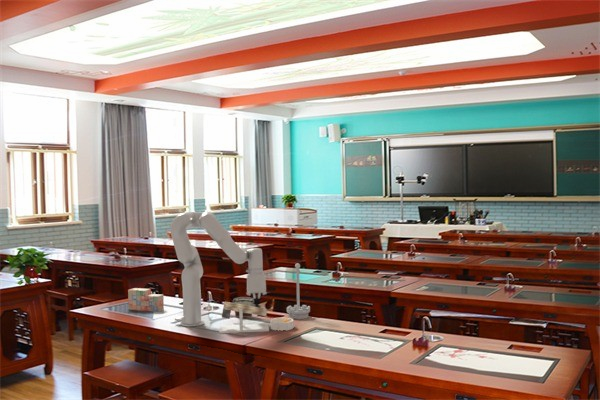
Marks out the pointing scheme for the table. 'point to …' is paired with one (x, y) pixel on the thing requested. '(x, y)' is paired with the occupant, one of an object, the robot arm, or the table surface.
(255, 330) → the catapult stand
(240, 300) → the food container
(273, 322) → the white bowl
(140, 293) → the stack of blocks
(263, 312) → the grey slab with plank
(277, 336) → the table surface
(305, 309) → the flag stand
